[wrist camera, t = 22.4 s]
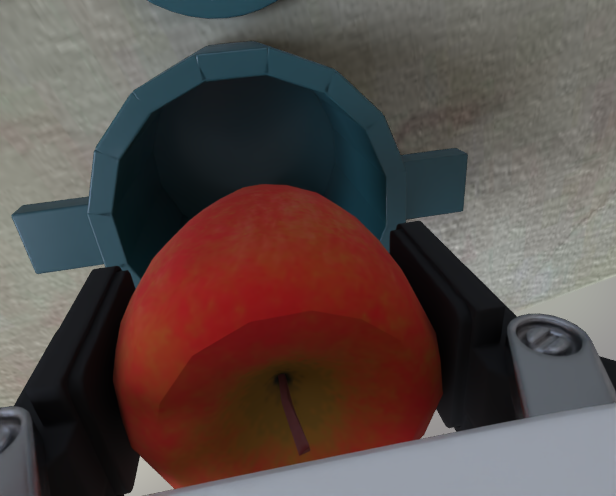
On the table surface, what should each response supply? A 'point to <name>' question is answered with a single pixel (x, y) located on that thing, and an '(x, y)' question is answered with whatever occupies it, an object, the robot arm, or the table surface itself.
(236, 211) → the apple
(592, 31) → the table surface
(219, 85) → the pot
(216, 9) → the lid
